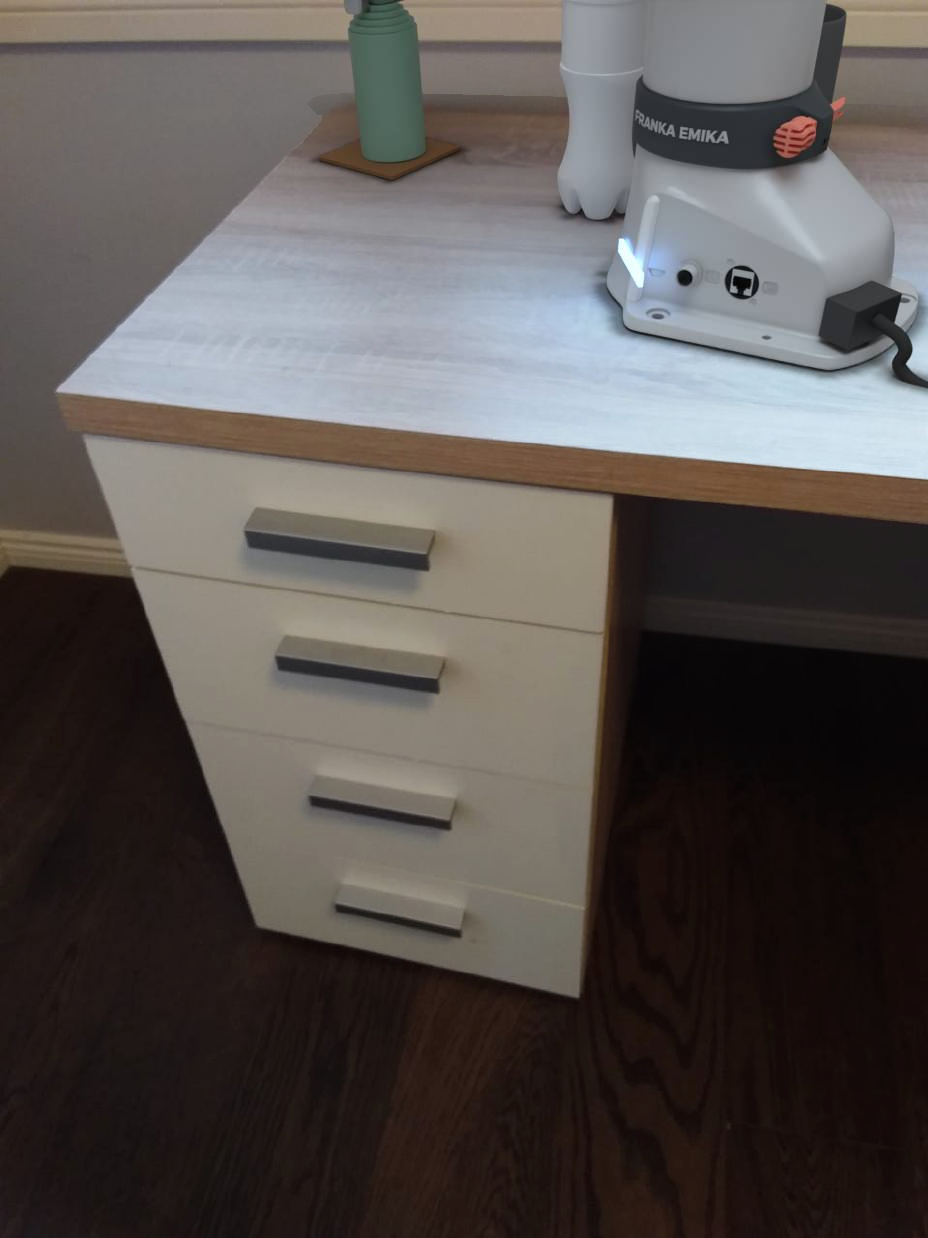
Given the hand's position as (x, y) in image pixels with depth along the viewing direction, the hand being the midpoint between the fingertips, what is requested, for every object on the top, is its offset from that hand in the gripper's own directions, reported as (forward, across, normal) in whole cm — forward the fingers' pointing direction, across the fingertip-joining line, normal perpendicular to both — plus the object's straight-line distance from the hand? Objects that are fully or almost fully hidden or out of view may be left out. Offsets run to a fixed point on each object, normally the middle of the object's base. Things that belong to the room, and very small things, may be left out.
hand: (377, 6), depth 92 cm
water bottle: (+13, 0, +25) cm, 28 cm away
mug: (+13, -20, +29) cm, 38 cm away
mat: (+13, 0, 0) cm, 13 cm away
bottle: (+12, 0, +1) cm, 13 cm away
